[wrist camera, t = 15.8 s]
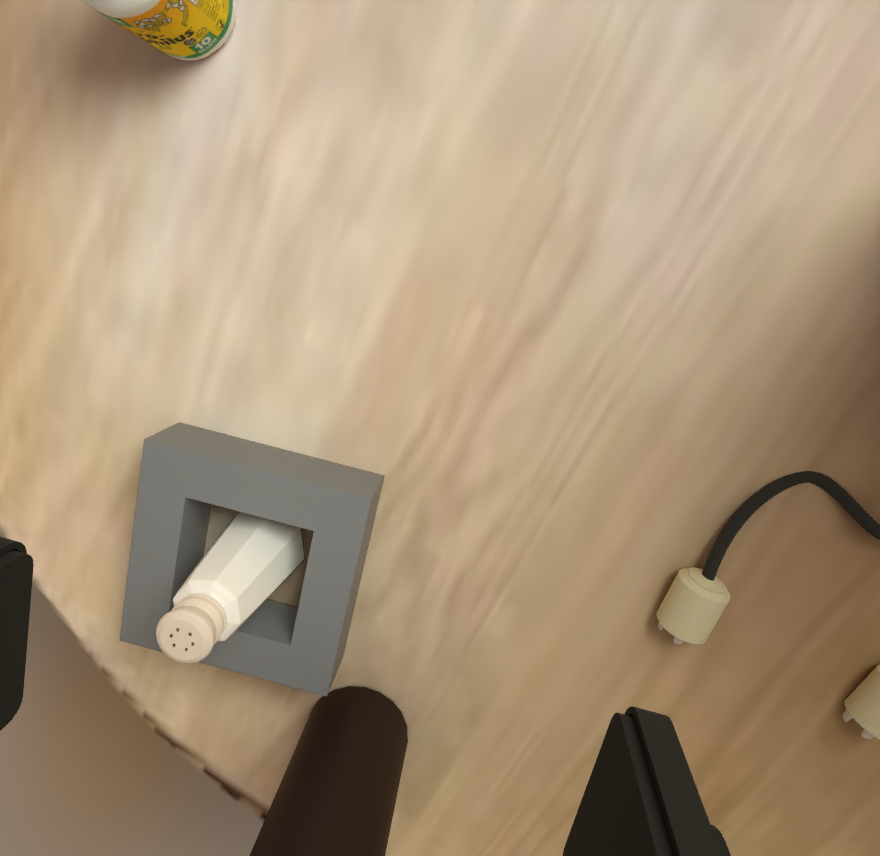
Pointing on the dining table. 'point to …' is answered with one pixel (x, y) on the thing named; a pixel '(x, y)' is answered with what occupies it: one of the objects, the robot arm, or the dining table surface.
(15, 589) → the robot arm
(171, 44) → the supplement bottle
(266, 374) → the dining table surface
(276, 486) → the frame
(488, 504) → the dining table surface
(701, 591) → the cable
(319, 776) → the dark brown water bottle
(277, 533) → the pepper shaker
